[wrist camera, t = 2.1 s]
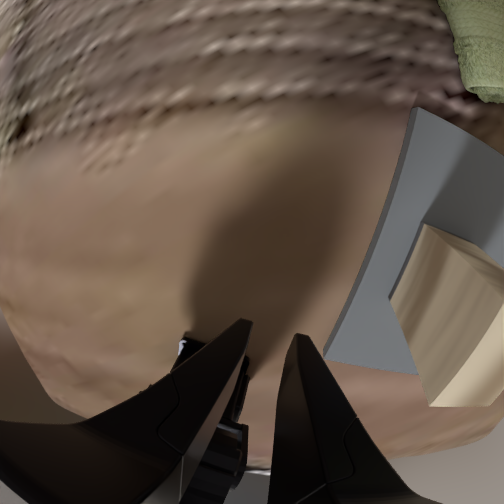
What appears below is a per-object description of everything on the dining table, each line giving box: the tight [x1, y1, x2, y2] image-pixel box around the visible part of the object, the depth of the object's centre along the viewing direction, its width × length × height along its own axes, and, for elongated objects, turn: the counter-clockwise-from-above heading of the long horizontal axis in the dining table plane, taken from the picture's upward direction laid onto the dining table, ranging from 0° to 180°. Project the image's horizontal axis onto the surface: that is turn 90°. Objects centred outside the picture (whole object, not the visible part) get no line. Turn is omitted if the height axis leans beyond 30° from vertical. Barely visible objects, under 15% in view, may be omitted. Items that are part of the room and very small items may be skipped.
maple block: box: [388, 221, 504, 407], centre depth 13 cm, size 5×6×10 cm
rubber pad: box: [323, 107, 504, 375], centre depth 18 cm, size 22×20×1 cm
